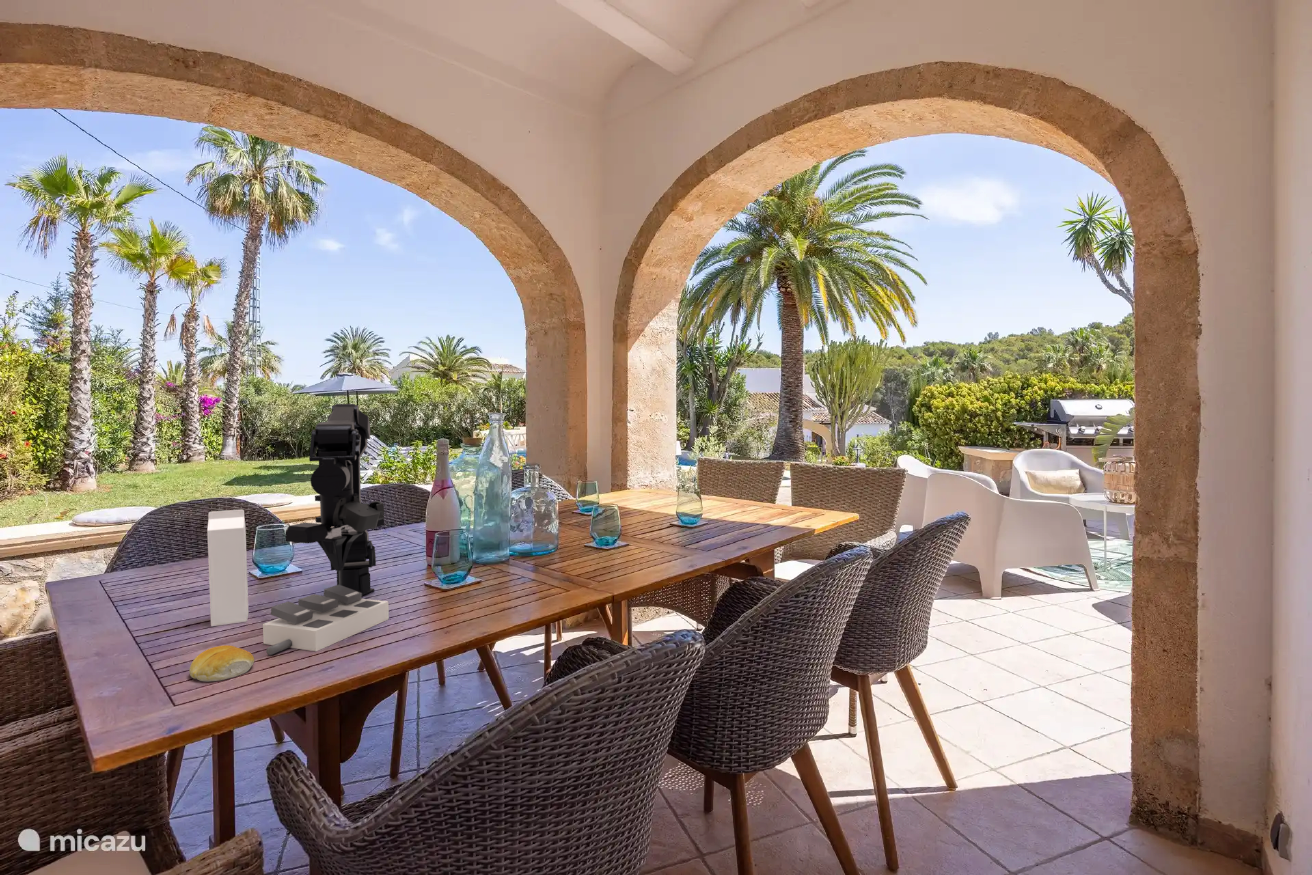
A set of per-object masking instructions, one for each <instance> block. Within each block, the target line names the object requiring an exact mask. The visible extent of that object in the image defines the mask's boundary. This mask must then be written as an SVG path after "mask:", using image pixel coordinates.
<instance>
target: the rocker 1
mask: <svg viewBox="0 0 1312 875" xmlns="http://www.w3.org/2000/svg"><path fill="white" fill-rule="evenodd" d="M270 615H271V616H274V617H276V618H277V619H278V618H281V619H283V620H286V621H288V622H291V623H293V624H299V623H301V622H304V621H306V620H309V619H312V617H313V611H312V610H309V609H307V608H304V607H302V606H299V605H298V604H296V603H294V602H291V601H286V602H282V603H279V604H277V605H274V606H271V609H270Z"/></svg>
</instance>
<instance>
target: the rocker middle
mask: <svg viewBox="0 0 1312 875" xmlns="http://www.w3.org/2000/svg"><path fill="white" fill-rule="evenodd" d="M297 605H299V606H302V607H304V608H307V609H310V610H315V611H319V612H326V611H328V610H331V609H334V608H336V607H338V600H337V599H333V598H329V597H325V596H323V595H319V594H315V593H313V594H311V595H307V596H305V597H301V598H299V599H298V604H297Z"/></svg>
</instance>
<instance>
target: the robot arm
mask: <svg viewBox="0 0 1312 875" xmlns="http://www.w3.org/2000/svg"><path fill="white" fill-rule="evenodd" d="M369 419H370V418H369V416H368V415H367V414H365V413H364V412H362V411H361V410H360V409H359V405H358V404H355V403H336V404H332V406H331V413H330V414H329V415H328V416H327V421H321V422H318V423H317V424H316V425H315V427H314V428H315V429H311V437H310V446H309V448H310V450H309V457H308V458H309V459H308V461H309V462H318V467H317V468H316V469H314V471H313V472H312V474H311V477H310V486H311V487H312V490H313V491H314V492H315V493H317V495H314V502H320V503H319V506H320V508H319V509H320V510H319V511H320V515H319V516H316V517H315V522H301V523H297V524H291V525H288V526H287V528H286V529H285V531H284V532H285V534H284V535H285V542H290V543H299V544H313V543H317V544H318V545H319V546H320V547H321V549H322V550H323V553H325V555H326V557H327V558H328V560H329V562H330V571H336V585H341V586H344V587H347V588H349V589H352V590H355V591H358V592H360V593H362V596H364V595H368V594H370V593H372V592H375V588H371V573H370V568H373V567H375V566H377V557H376V554H377V553H376V547H375V546H374V544H373V542H372V540H370V535H369V534H370V533H369V531H368V530H371V529H372V530H375V529H376V528H378V527H382V526H384V525H385V515H384V514H385V505H384V502H381V501H380V500H376V501H371V502H370V503H362V500H361V499H362V497H361V496H362V494H361V491H362V490H361V457H362V456H363V454H364V452H365V451H366V450H367V448H368V440H371V423H370V420H369Z"/></svg>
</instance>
